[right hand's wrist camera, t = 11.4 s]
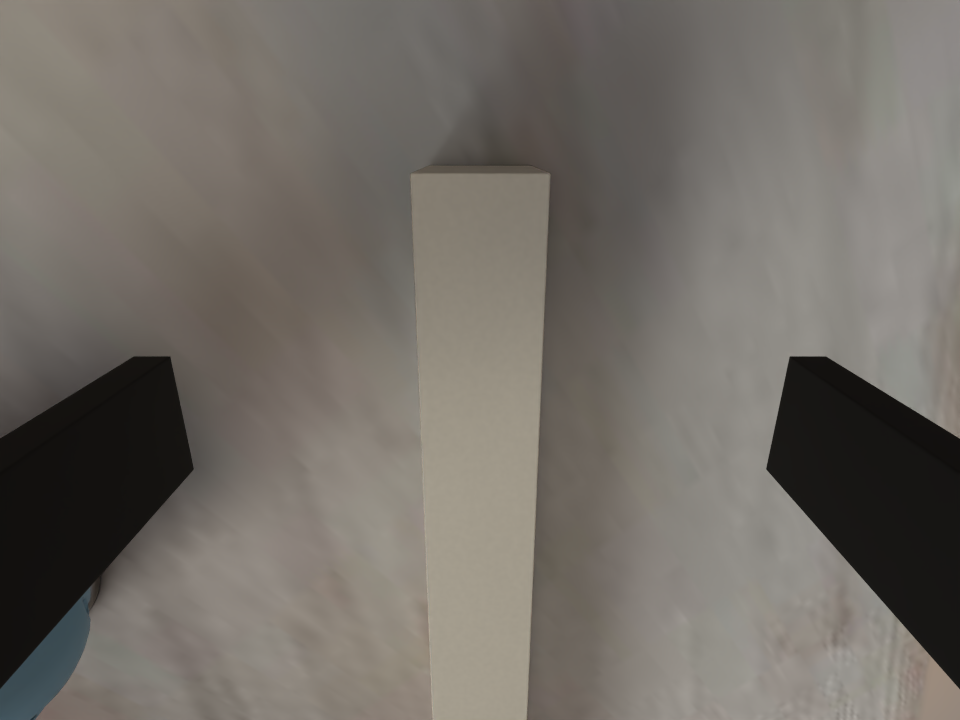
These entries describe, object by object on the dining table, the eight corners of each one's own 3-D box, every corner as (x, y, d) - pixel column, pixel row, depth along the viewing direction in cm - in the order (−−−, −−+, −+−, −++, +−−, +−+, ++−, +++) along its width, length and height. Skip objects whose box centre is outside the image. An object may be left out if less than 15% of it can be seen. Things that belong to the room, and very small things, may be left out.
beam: (427, 165, 32) (409, 172, 23) (532, 165, 32) (550, 172, 23) (447, 798, 51) (440, 924, 42) (512, 798, 51) (518, 924, 42)
